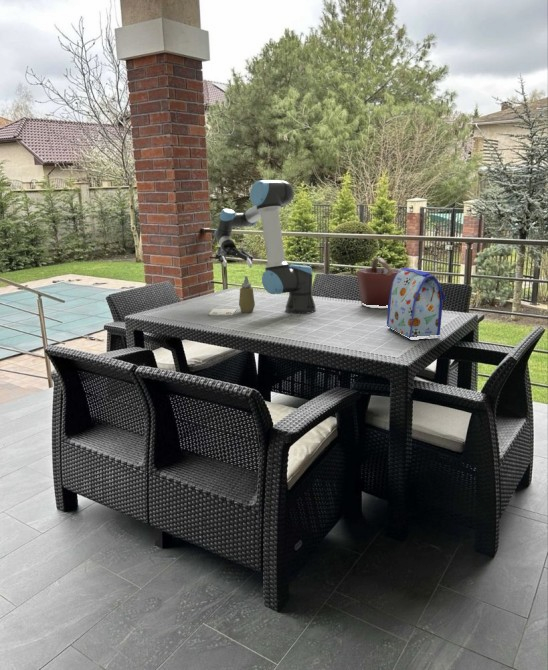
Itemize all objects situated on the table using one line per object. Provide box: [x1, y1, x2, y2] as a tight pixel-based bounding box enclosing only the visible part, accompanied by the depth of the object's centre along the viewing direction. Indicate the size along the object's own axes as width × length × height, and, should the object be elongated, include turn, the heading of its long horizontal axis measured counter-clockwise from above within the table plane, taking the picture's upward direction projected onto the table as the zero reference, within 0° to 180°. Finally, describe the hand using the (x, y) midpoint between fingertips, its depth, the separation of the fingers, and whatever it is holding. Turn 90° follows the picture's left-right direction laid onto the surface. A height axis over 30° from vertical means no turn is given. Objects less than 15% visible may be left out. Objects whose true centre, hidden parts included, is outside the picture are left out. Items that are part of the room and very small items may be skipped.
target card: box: [208, 308, 237, 316], centre depth 268 cm, size 12×12×1 cm
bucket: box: [356, 257, 401, 306], centre depth 276 cm, size 24×22×25 cm
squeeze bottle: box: [238, 275, 256, 313], centre depth 267 cm, size 8×8×18 cm
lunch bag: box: [386, 267, 447, 338], centre depth 220 cm, size 23×17×27 cm
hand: (238, 265), depth 268 cm, fingers open, 13 cm apart
